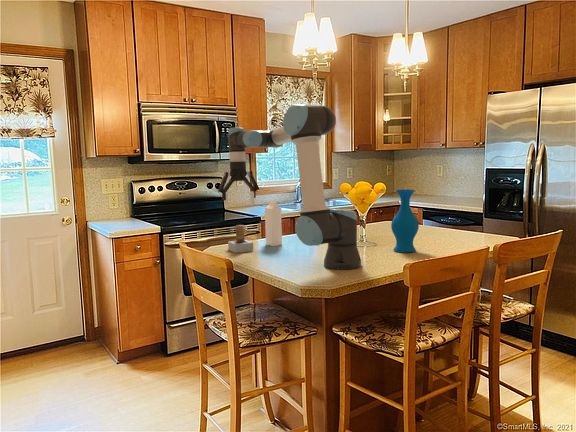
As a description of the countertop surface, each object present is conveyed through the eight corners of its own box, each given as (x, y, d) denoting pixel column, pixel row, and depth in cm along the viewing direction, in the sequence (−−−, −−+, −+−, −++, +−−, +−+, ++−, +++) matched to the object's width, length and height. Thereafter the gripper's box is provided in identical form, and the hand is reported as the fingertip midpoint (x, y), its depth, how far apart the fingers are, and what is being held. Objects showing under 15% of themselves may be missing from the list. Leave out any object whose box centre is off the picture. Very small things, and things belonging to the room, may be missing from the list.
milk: (272, 246, 234) (271, 202, 231) (265, 244, 239) (264, 201, 236) (282, 244, 238) (281, 201, 234) (275, 243, 242) (274, 200, 239)
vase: (423, 250, 217) (424, 190, 213) (408, 255, 208) (409, 192, 204) (401, 247, 225) (401, 188, 222) (385, 251, 217) (386, 190, 213)
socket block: (253, 250, 225) (253, 242, 224) (236, 252, 220) (235, 244, 220) (245, 247, 232) (245, 239, 232) (228, 249, 228) (228, 241, 227)
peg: (246, 250, 226) (245, 225, 224) (238, 251, 224) (237, 226, 222) (242, 249, 229) (241, 224, 227) (235, 250, 227) (234, 225, 225)
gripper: (257, 160, 230) (259, 203, 233) (209, 161, 218) (211, 207, 220) (265, 160, 224) (266, 204, 226) (215, 161, 211) (217, 208, 214)
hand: (239, 206), depth 223 cm, fingers open, 13 cm apart
